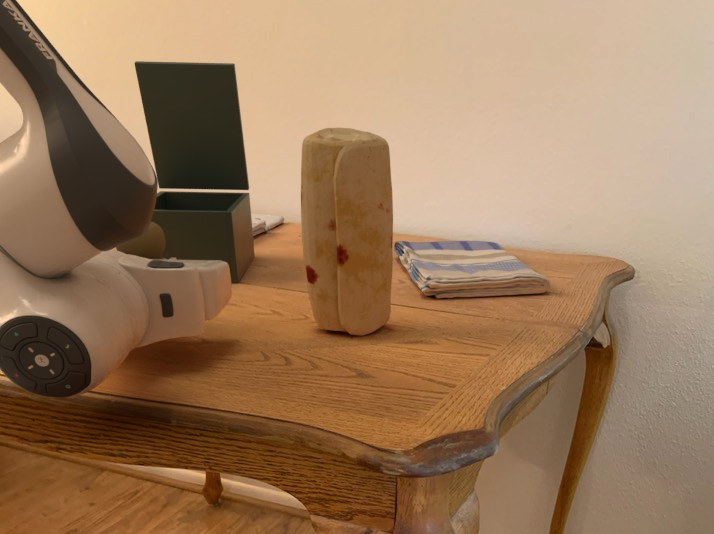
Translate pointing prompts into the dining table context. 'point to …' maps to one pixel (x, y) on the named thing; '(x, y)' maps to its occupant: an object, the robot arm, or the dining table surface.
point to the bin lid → (194, 124)
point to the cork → (146, 244)
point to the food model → (347, 228)
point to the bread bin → (207, 227)
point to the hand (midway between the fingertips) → (146, 264)
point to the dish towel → (467, 269)
